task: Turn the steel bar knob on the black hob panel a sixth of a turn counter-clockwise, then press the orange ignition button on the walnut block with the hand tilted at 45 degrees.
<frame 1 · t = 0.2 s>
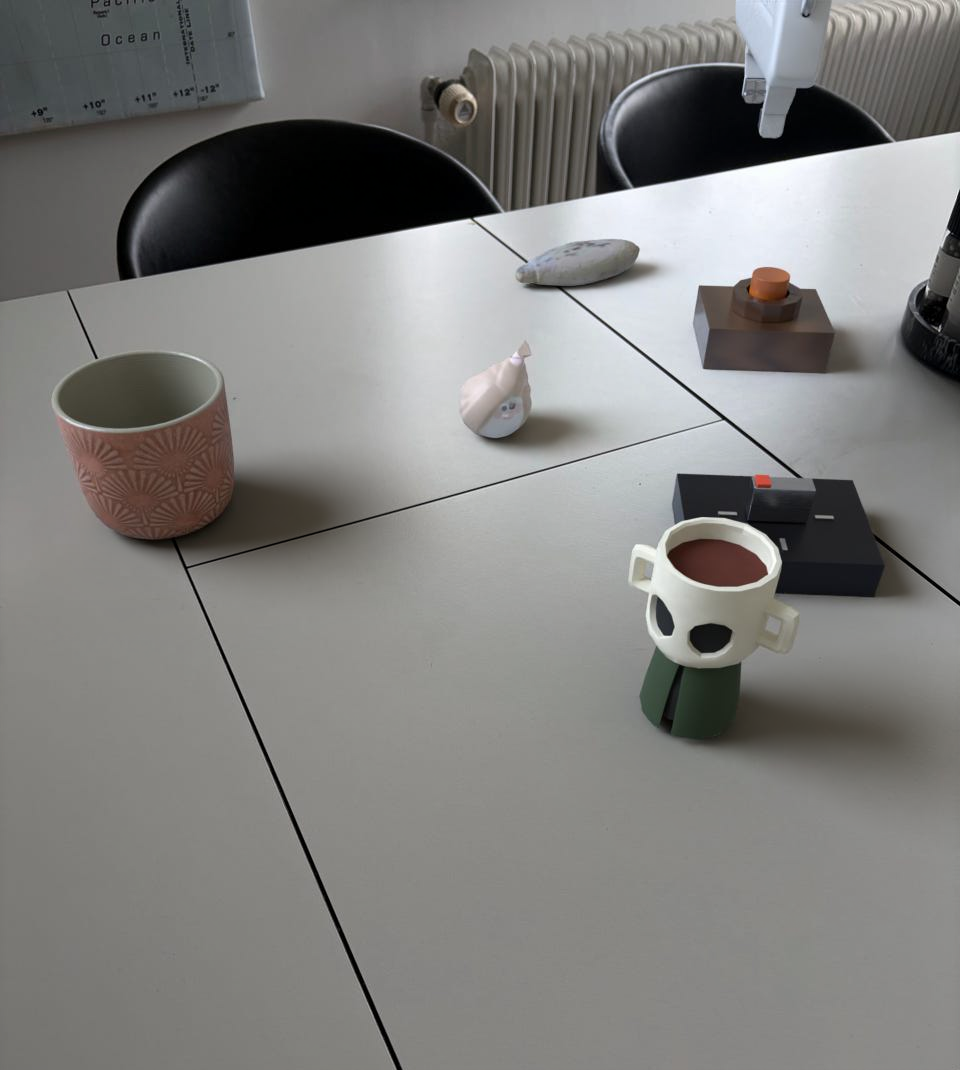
hand: (760, 117, 87), 23 cm above the table, tool pointing down, fingers open, 8 cm apart
decorative stone: (577, 278, 119), on the table
planter: (167, 511, 84), on the table
character mug: (686, 712, 68), on the table
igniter: (756, 347, 106), on the table
ignition button: (769, 284, 102), point 7 cm above the table, slide at 0.1 cm
hob panel: (767, 548, 81), on the table
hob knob: (780, 498, 78), point 5 cm above the table, hinge at 0.0°
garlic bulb: (494, 432, 94), on the table
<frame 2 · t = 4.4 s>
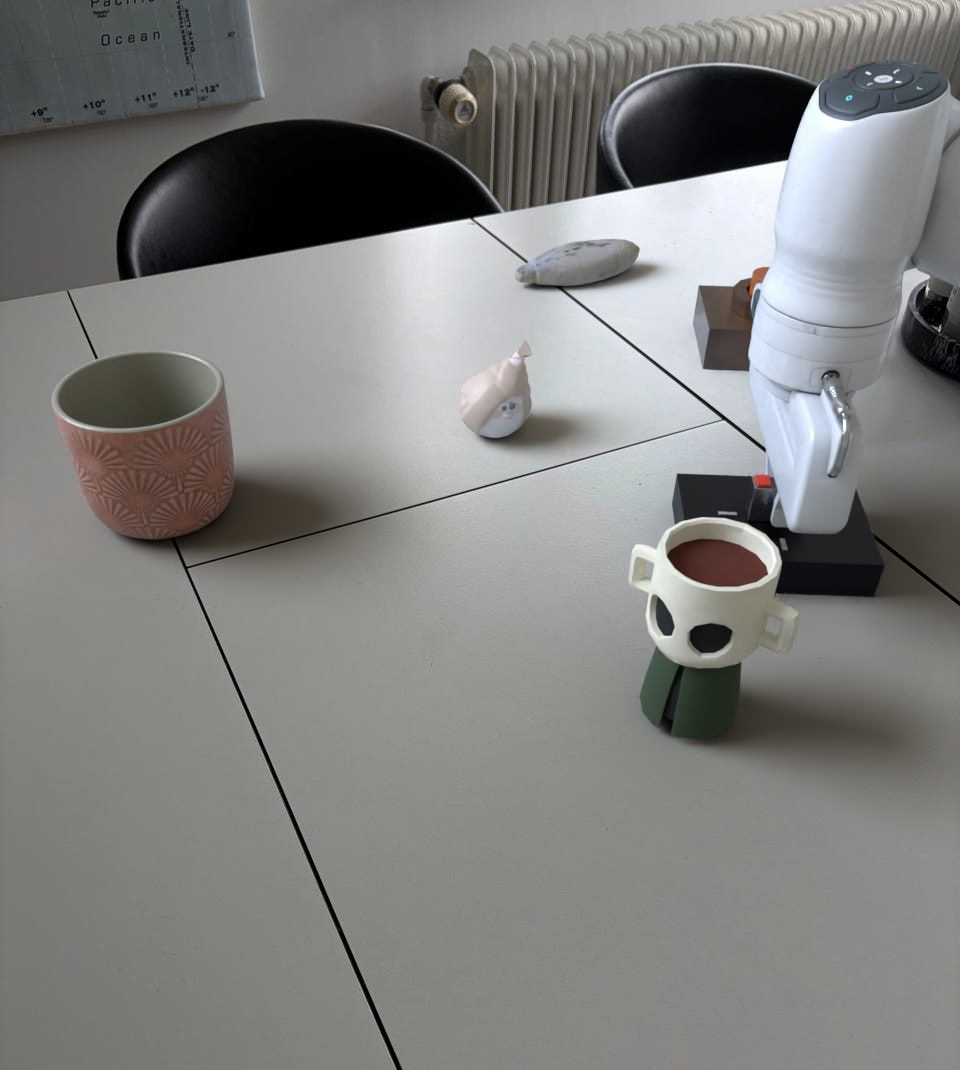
hand: (777, 510, 79), 4 cm above the table, tool pointing down, fingers closed on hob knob, 2 cm apart
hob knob: (780, 498, 78), point 5 cm above the table, hinge at -0.1°, touching gripper
everything else where it was.
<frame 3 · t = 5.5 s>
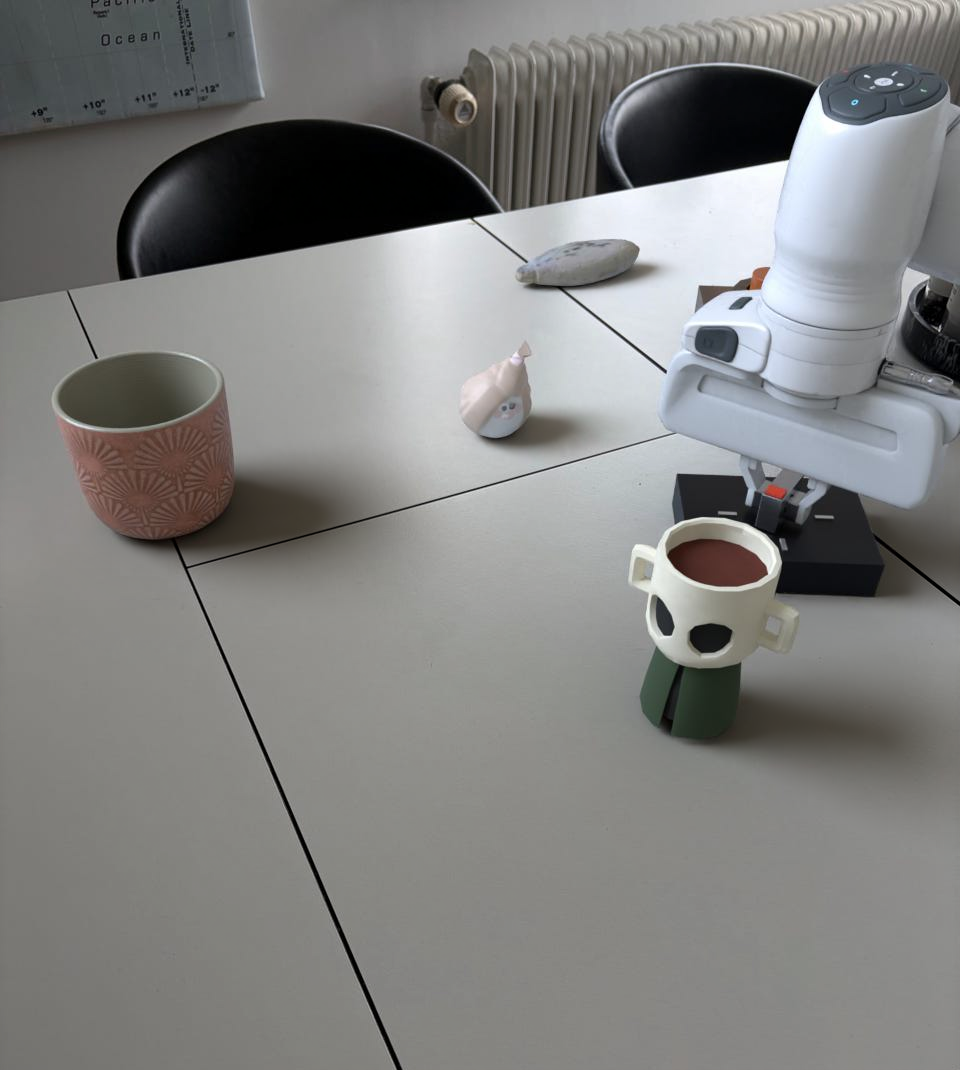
hand: (776, 511, 79), 3 cm above the table, tool pointing down, fingers closed on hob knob, 2 cm apart
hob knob: (780, 498, 78), point 5 cm above the table, hinge at 59.2°, touching gripper
everything else where it was.
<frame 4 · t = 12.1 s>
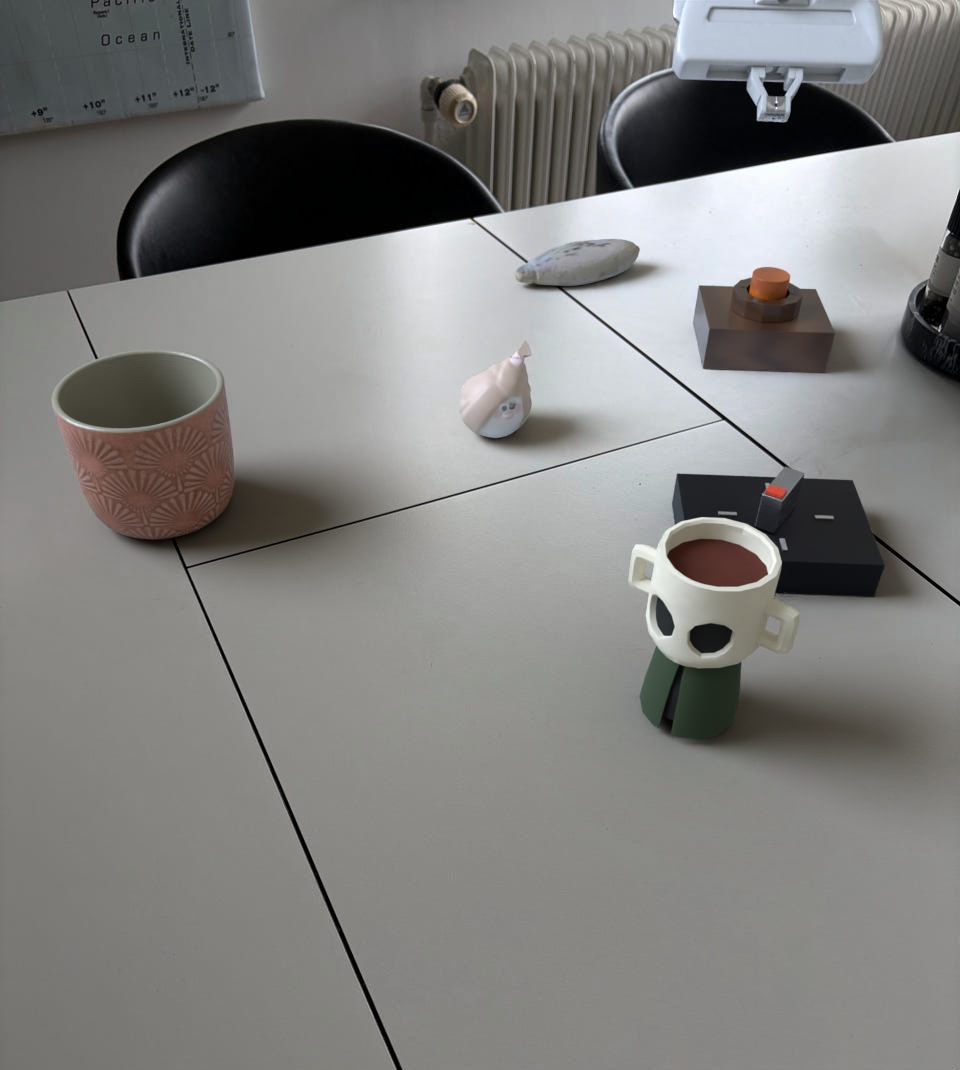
hand: (773, 118, 103), 18 cm above the table, tool tilted 45°, fingers closed
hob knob: (780, 498, 78), point 5 cm above the table, hinge at 59.3°
everything else where it was.
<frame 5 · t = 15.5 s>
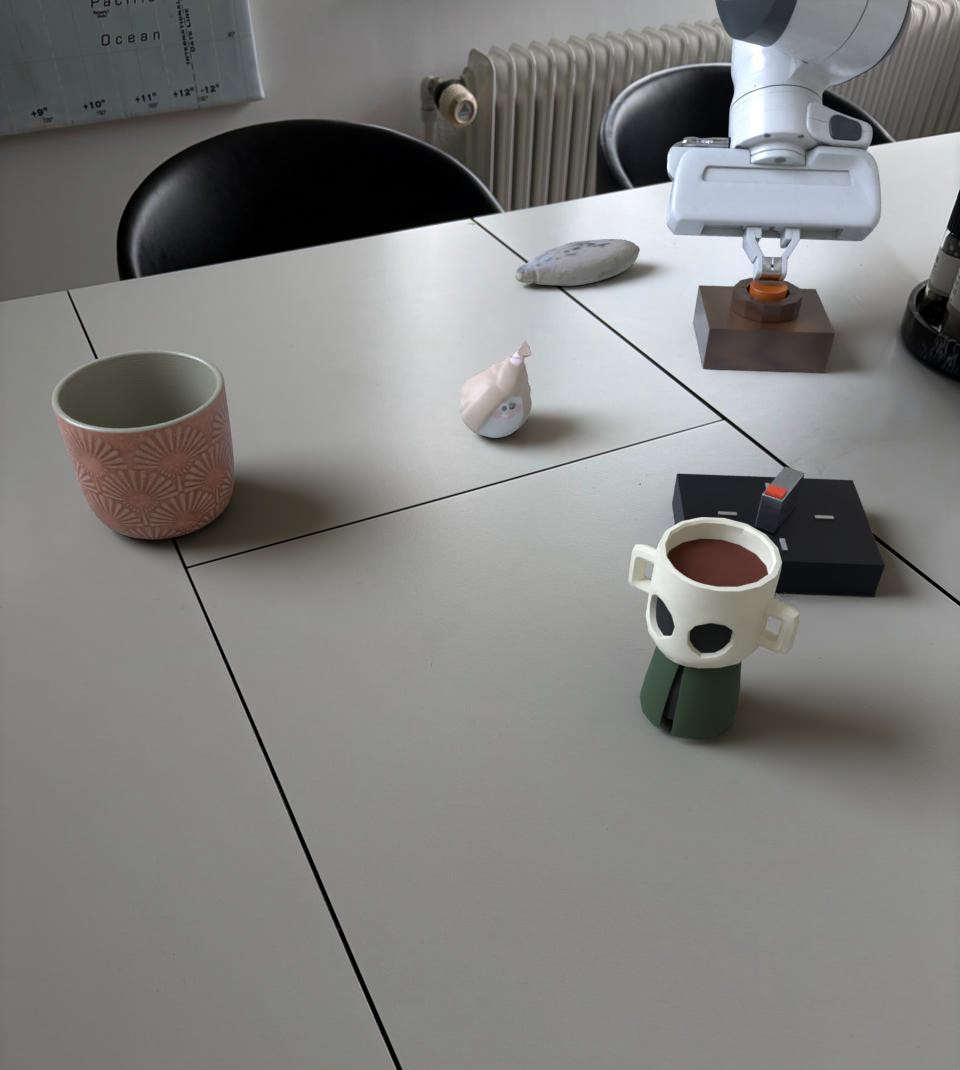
hand: (769, 278, 101), 7 cm above the table, tool tilted 45°, fingers closed, pressing on ignition button
ignition button: (767, 295, 102), point 6 cm above the table, slide at -1.0 cm, touching gripper
everything else where it was.
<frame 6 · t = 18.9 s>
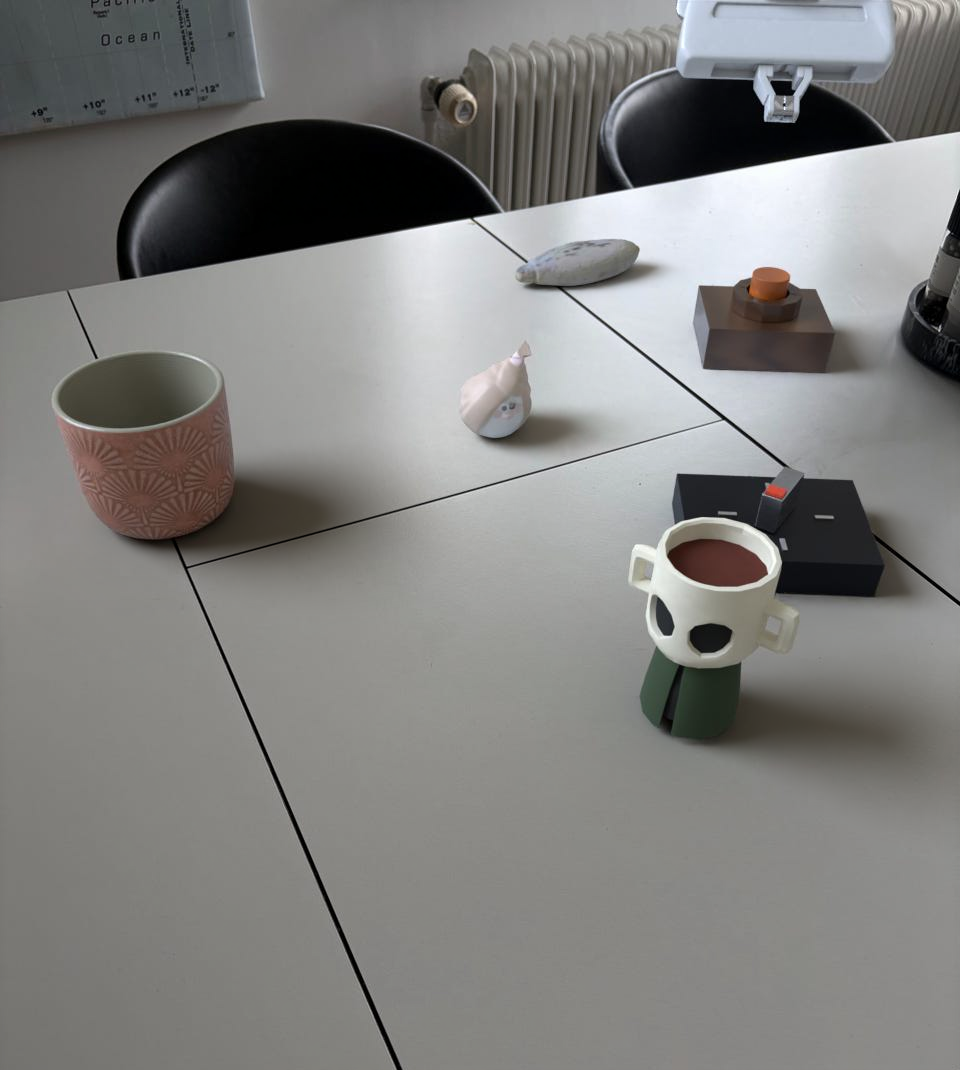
hand: (781, 119, 99), 19 cm above the table, tool tilted 45°, fingers closed
ignition button: (769, 284, 102), point 7 cm above the table, slide at 0.1 cm
everything else where it was.
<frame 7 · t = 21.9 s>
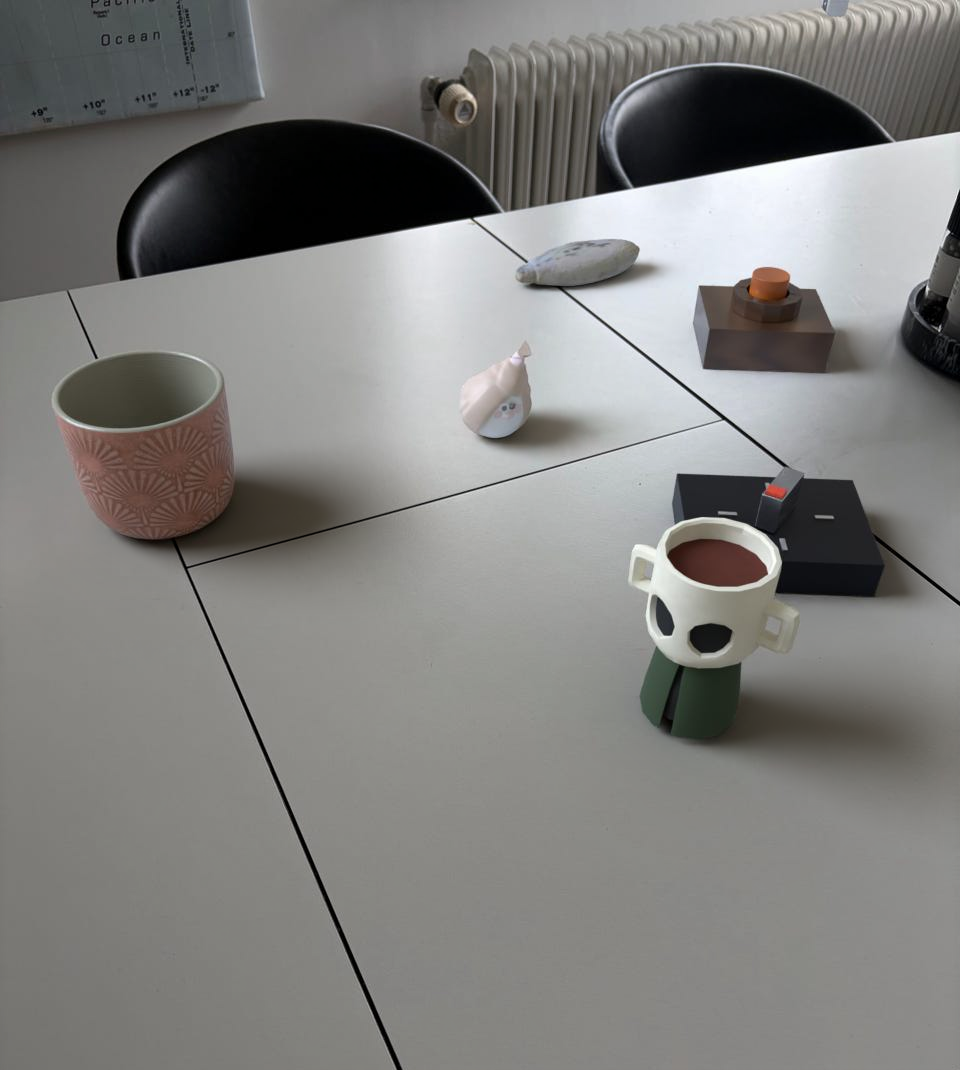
hand: (832, 13, 98), 27 cm above the table, tool pointing down, fingers closed
nothing on the table moved.
at the end: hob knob at +59° (first picture: +0°); ignition button pushed in 1.3 cm at the most during the clip, back to where it started at the end; ignition button slide at 0.1 cm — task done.
